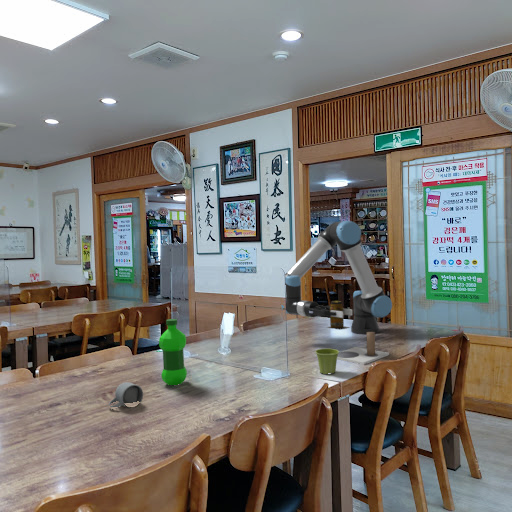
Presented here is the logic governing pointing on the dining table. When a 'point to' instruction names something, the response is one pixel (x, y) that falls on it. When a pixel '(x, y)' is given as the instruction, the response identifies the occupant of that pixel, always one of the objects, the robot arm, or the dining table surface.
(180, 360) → the plastic bottle
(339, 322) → the condiment
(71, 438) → the dining table surface
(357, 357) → the board
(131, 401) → the ceramic mug
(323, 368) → the plant pot
